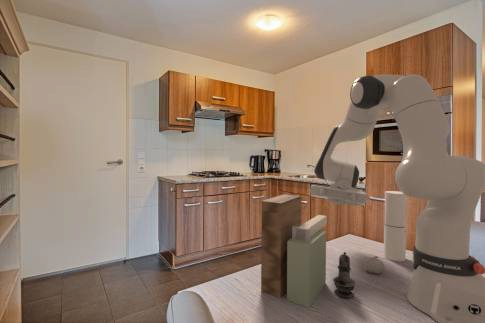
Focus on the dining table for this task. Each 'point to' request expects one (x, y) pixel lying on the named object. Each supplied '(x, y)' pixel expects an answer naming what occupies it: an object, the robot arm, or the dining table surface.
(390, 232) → the cylindrical container
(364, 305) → the dining table surface
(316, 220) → the beige rectangular bar
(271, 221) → the tall stand
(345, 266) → the stone chess bishop
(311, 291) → the olive grey block
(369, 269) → the garlic
